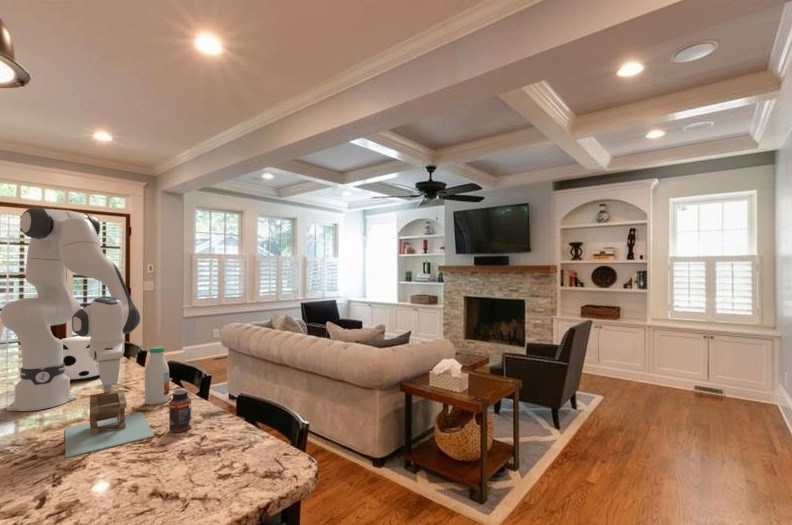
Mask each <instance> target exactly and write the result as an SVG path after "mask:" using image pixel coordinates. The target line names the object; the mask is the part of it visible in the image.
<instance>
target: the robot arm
mask: <svg viewBox="0 0 792 525" xmlns="http://www.w3.org/2000/svg"><path fill="white" fill-rule="evenodd" d="M19 223H20V225H19V226H20V231H21V232H22V233H23V234H24V235H25V236H26V237H28V238H30V241H29V244H28V249H27V254H26V265H25V280H26V281H27V283H29V284H30V285H31V286H34V288H35V290H36V293H37V297H25V298H21V299H16V300H14V301H10V302H7V303H6V304H4V306H3V307H2V308H1V310H0V322H1V324H2V325H3V326H4V327H5V328H7V329H8V330H10V331H12V332H13V333H14V334H15V335H16V337H17V339H18V341H19V343H20V347H21V361H22V366H21V368H20V381H19V382H17V383H16V384H15V385H14V388H13V389H14V397H13V399H14V400H13V402H12V403H11V404H10V405H9V406H7V407H6V411H8V412H10V411H12V412H13V411H18V412H30V411H32V412H33V411H39V410H44V409H49V408H54V407H57V406H61V405H63V404H66V403H68V402H70V401H75V400H76V399H77V395H76V394H74V393H73V392H72V391H71V383H70V382H71V381H70V378H69V377H68V376H66V375H65V374H64V372H65V363H64V362H63V342H62V341H61V339H60V338H58V337H56V336H54V335H53V334H54V333H53V332H52V330H51V326H59V325H64V324H67V323H69V322H71V328H72V329H71V330H72V332H73V333H74V334H76V335H77V336H81V337H91V339H90V357H92V358H94V359H95V362H97V363H98V373H99V376H98V377H99V379H100V381H101V384H102V387H103V390H102V393H106V392H112V386H113V385H114V386H115V385H117V384H118V382H119V378H120V377H119V376H120V368H121V366H120V365H121V359H122V358H123V355H124V354H125V336H124V334H131V333H132V332H133V331H134V330H135V329H136V328H137V327H138V326H139V324H140V322H141V316H140V312H139V310H138V308H137V306H136V305H135V304H134V302H133V300H132V297H131V296H130V293H129V291H128V289H127V285H126V283H125V281H124V279H123V277H122V274H121V272H120V270H119V268H118V266H117V264H115V263H114V262H112V261H111V260H110V259H108V258H107V256H106V255H105V254H104V252H103V250H102V247H101V243H100V239H99V235H100V231H101V224H100V221H99V219H98V218H97V217H96V216H94V215H92V214H89V213H86V212H82V213H81V212H78V211H72V210H67V209H52V208H50V209H49V208H43V207H42V208H41V207H32V208H28V209H26V210H25V211H24V212H23V213H22V214H21V217H20V222H19ZM67 270H68V271H69V272H72V273H73V274H76V275H79V276H83V277H87V278H91V279H93V280H95V281H96V280H97V281H99V282H101V283H102V284H104V285H105V286H106V288H107V290H108V292H109V294H110V297H109V296H104V297H97V298H95V299H93V300H92V301H91V303H90V305H89V306H86V307H83V308H82V307H81V303H80V302H79V300H78V299H77V298H76V297H74V295H72V293H71V290H70V289H69V286H68V282H67Z"/></svg>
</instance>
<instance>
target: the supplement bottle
mask: <svg viewBox="0 0 792 525" xmlns="http://www.w3.org/2000/svg"><path fill="white" fill-rule="evenodd" d="M188 395H189V394H188V390H186V389H185V390H183V389H182V390H177V391H174V392H172V399H171V400H169V403H168V404H169V405H168V409H169V410H168V411H169V412H168V413H169V414H168V416H169V417H168V418H169V419H168V421H169V422H168V423H169V424H168V427H169V431H170V432H171V433H182V432H185V431H188V430H190V429H191V427H192V399H191V398H190V397H189V396H188Z"/></svg>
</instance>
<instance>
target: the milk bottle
mask: <svg viewBox="0 0 792 525" xmlns="http://www.w3.org/2000/svg"><path fill="white" fill-rule="evenodd" d="M164 353H165V346H154V347H150V348H149V355H150V357H149V360H148V363H147V365H146V366H145V371H144V404H146V405H149V406H150V405H151V406H156V405H160V404H164V403H167V402H168V401H170V369H169V368H170V367H169V364H168V363H167V361H166V358H165V356H164V355H165V354H164Z"/></svg>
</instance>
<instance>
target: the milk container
mask: <svg viewBox="0 0 792 525" xmlns="http://www.w3.org/2000/svg"><path fill="white" fill-rule="evenodd" d="M90 339H91V337H81V336H79V335H77V336H70V337H66V338H64V337H63V338H62V339H60V340H61V341H62V342H63V362H64V363H65V372H64V374H65V375H66V376H68V377H69V378H70V382H79V381H86V380H90V379H93V378H97V377H100V376H99V373H98V363H97V362H95V359H94V358H92V357H90Z"/></svg>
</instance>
